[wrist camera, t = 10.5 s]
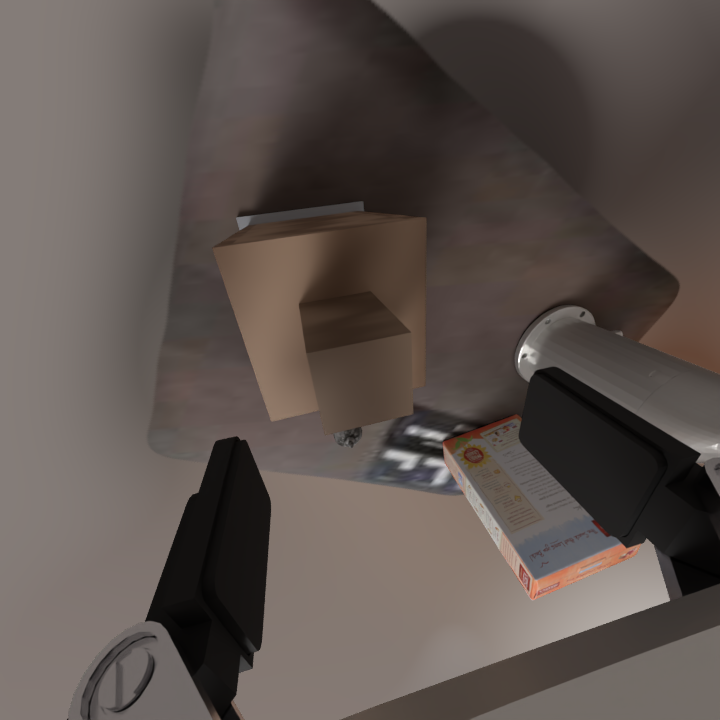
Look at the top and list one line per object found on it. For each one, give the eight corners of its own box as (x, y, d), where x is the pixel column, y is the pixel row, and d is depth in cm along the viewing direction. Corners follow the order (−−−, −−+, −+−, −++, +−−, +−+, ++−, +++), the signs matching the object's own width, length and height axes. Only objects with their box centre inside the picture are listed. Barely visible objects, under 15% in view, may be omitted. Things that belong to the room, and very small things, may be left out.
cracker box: (443, 463, 51) (531, 604, 33) (441, 439, 48) (535, 581, 30) (515, 437, 52) (637, 559, 34) (517, 412, 49) (652, 532, 31)
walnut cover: (358, 210, 28) (501, 225, 10) (368, 312, 34) (473, 448, 15) (247, 225, 27) (167, 275, 8) (276, 329, 32) (266, 504, 14)
